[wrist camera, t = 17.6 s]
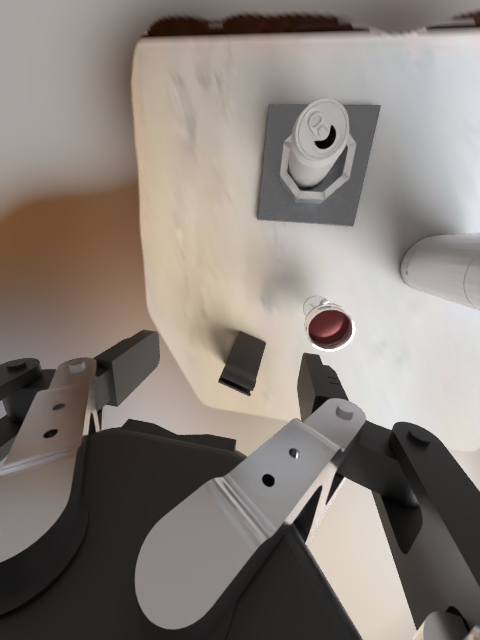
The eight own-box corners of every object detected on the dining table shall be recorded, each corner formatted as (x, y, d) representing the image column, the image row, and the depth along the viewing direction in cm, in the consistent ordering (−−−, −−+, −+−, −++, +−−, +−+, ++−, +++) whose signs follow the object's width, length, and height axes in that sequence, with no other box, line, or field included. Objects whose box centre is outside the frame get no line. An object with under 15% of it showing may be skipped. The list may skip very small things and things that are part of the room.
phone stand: (240, 330, 48) (229, 357, 36) (266, 342, 47) (262, 372, 36) (225, 364, 51) (210, 397, 39) (249, 375, 51) (241, 412, 39)
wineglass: (294, 320, 45) (300, 345, 34) (304, 287, 43) (313, 302, 31) (328, 328, 44) (345, 356, 33) (340, 295, 42) (362, 313, 31)
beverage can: (302, 198, 37) (313, 177, 26) (279, 164, 36) (280, 127, 25) (337, 168, 35) (365, 132, 24) (313, 131, 34) (331, 76, 23)
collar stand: (377, 109, 33) (392, 89, 29) (351, 226, 38) (360, 224, 34) (269, 108, 35) (268, 89, 31) (258, 219, 40) (256, 216, 36)
